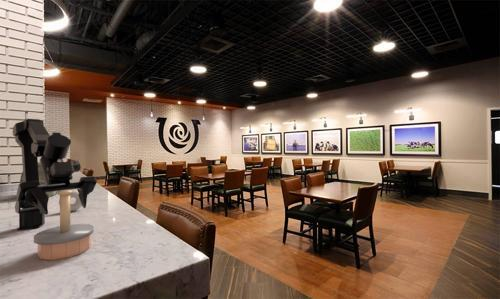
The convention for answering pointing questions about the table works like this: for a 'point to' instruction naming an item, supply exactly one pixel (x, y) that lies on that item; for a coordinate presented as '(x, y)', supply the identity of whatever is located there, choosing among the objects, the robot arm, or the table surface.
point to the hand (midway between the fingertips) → (66, 210)
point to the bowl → (64, 249)
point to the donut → (77, 203)
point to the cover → (64, 226)
